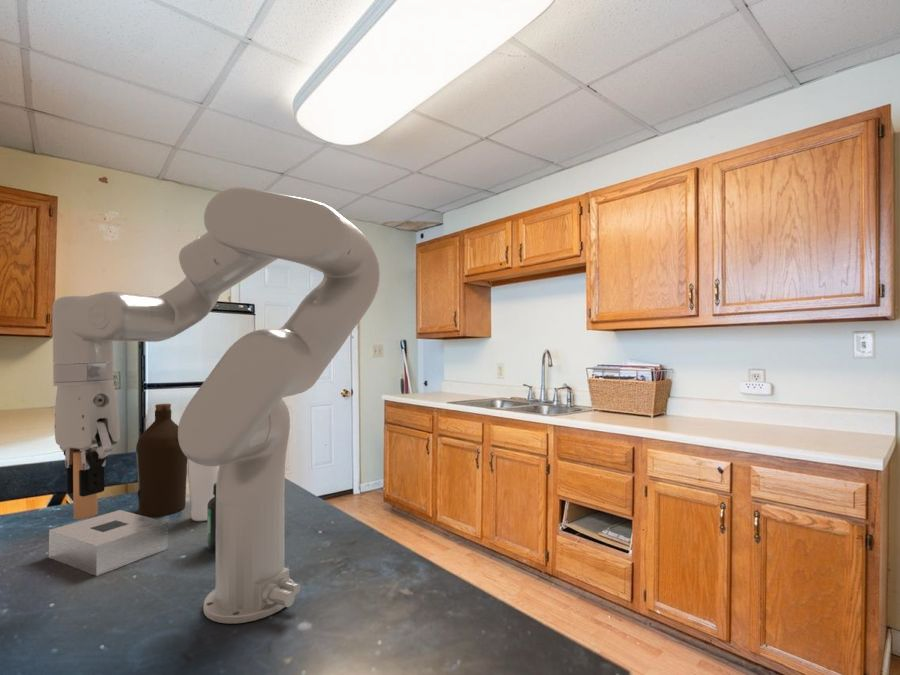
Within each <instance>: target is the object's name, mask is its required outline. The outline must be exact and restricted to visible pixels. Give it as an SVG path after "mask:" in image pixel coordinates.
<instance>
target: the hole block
mask: <svg viewBox="0 0 900 675" xmlns="http://www.w3.org/2000/svg"><path fill="white" fill-rule="evenodd" d="M168 524H169V523H168V522H167V521H164V520H161V519H157V518H152V517H145V516H142V515H140V514H139V513H138V514H136V513H134V512H131V511H130V512H129V511H127V510H126V511H125V510H122V509H119V510H115V511H112V512H108V513H103V514H101V515H98V516H97V515H96V516H93V517H90V518H85V519H82V520H80V521H79V520H78V521H76V522H73V523H70V524H66V525H65V524H64V525H63V526H62V525H61V526H58V527H55V528H51V529H49V530H48V558H49V559H51V560H53V559H54V561H57V562H59V563H61V564H65V565H66V564H67V565H66V566H69V567H71V568H73V569H77V570H79V569H80V570H79V571H82V572H85V573H88V574H90V575H93V576H95V577H98V576H100V575H103V574H105V573H108V572H110V571H113V570H116V569H119V568H121V567H124V566H126V565H129V564H132V563H134V562H136V561H137V562H138V561H139V560H143V559H145V558H147V557H150V556H153V555H156V554H158V553H160V552H163V551H166V550H167V549H168V548H169V547H168V540H169V539H168V537H169V536H168V533H169V531H168V529H169V527H168V526H169V525H168Z"/></svg>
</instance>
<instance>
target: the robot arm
mask: <svg viewBox="0 0 900 675" xmlns="http://www.w3.org/2000/svg"><path fill="white" fill-rule="evenodd" d="M203 223H204V227H205V230H206V231H207V232H206V233H204V234H202V235H200V236H199V237H197V238H196V239H194V240H192V241H191V242H190V243H189V242H188V243H187V244H186V245H184V246H183V247H182V248H181V249H180V251H179V254H178V260H179V266H180V269H181V270H182V272H183V274H184V276H185V277H184V278H183V280H182V281H181V282H179V283H178V284H177V285H175V286H174V287H172V288H171V289H169V290H168V291H165V292H164V293H162V294H160V295H158V296H156V297H155V296H150V295H144V294H138V293H136V294H135V293H128V292H122V291H104V292H99V293H95V294H90V295H69V296H62V297H58V298H56V299H55V300H54V302H53V304H52V364H53V365H52V370H53V371H52V374H53V375H52V380H53V382H52V384H53V387H57V388H56V396H55V407H54V440H55V443H56V444H57V445H58V446H59V448H60V451H61V452H63V455H64V465H65V467H66V468H65V469H66V473H65V474H66V478H65V479H66V493H67V494H69V495H72V494H73V453H74V452H77V451H81V459H82V469H83V470H79V495H80V496H83V497H84V496H88V495H92V494H96V493H98V494H101V493H103V492H104V491H105V488H106V487H105V466H106V465H107V461H106V460H107V457H108V456H109V455H111V453H113V446H114V445H117V444H118V443H119V442H120V436H121V434H120V416H119V405H118V399H117V394H116V393H117V392H116V388H115V385H114V382H115V381H114V342H148V343H150V342H152V343H155V342H156V343H157V342H163V341H166V340H169V339H171V338H174V337H176V336H178V335H180V334H181V333H183V332H184V331H187V330H188V329H189V328H190V329H191V327H193V326H194V325H196V324H198V323H199V322H201V321H202V320H204V318H206V317H207V315H209V314H210V312H211V311H212V310H213V309H214V307H215V306H216V304H217V303H218V301H219V298H220V295H222V294H223V293H224V292H226V291H228V290H229V289H230V288H232V287H234V286H236V285H237V284H239V283H240V282H242V281H243V280H245V279H247V278H249V277H250V276H252V275H254V274H255V273H257V272H259V271H260V270H263V268H265V267H267V266H268V265H270V264H272V263H273V262H275V261H277V260H283V261H288V262H292V263H296V264H300V265H303V266H306V267H308V268H311V269H313V270H316V271H318V272H320V273H322V274H323V278H322V280H321V282H319V284H318V285H317V286H316V287H315V288H313V289H312V290H311V291H310V292H309V293H308V294H307V295H306V296H305V297H304V298H303V299H302V301H301V302H300V303H299V305H298V306H297V308H296V309H295V311H294V312H293V313H292V315H291V316H290V317H289V318H288V320H286V322H285V323H284V324H283V325H282V326H281V327H280V328H277V329H276V328H275V329H274V328H266V329H265V328H264V329H263V328H262V329H257V330H253V331H251V332H249V333H246V334H244V335H243V336H241V337H240V338H238V339H237V340H236V341H235V342H233V344H232V345H230V346H229V348H227V350H226V351H225V353H224V354H223V356H221V357H220V359H219V361H218V362H217V364H216V365H215V366H214V367H213V369H212V370H211V372H210V373H209V374H208V375H207V377H206V378H205V379H204V380H203V382H202V384H201V385H200V387H199V388H198V389H197V391H196V392H195V394H194V395H193V396H192V398H191V399H190V401H189V402H188V404H187V405H186V407H185V409H184V411H183V412H182V415H181V416H180V420H179V423H178V441H179V445H180V448H181V450H182V451H183V453H184V454H185V456H186V457H187V458H188V459H190V460H191V461H193V462H194V463H197V464H199V465H203V466H219V470H218V475H217V483H216V552H215V588H214V589H212V590H211V592H209V593H208V594H207V596H205V599H204V601H203V614H204V615H205V616H206V617H205V618H207V619H209V620H211V621H213V622H217V623H219V624H227V625H229V624H231V625H232V624H244V623H245V624H246V623H249V622H253V621H258V620H261V619H264V618H267V617H270V616H272V615H273V614H276V613H277V612H280V611H282V609H284V608H289V607H291V606H293V604H294V602H295V600H296V595H298V594H299V593H300V591H301V588H302V587H301V584H299V583H297V582H295V581H294V580H293V579H292V578H290V568H288V567H285V566H286V565H285V559H286V558H285V556H286V555H285V554H286V552H285V544H286V543H285V542H286V540H285V539H286V538H285V536H286V535H285V534H286V533H285V532H286V530H285V522H286V521H285V518H286V517H285V513H286V512H285V492H286V491H285V490H286V488H285V487H286V460H287V459H286V458H287V451H288V450H287V449H288V444H289V438H290V429H291V417H290V412H289V408H288V406H287V404H286V401H285V400H283V398H286V397H292V396H295V395H298V394H303V393H305V392H306V391H308V390H309V389H311V388H312V387H313V386H315V384H316V383H317V381H318V380H319V379H320V377H321V376H322V375H323V373H324V372H325V370H326V369H327V368H328V366H329V364H330V363H331V362H332V360H333V359H334V358H335V357H336V355H337V354H338V352H339V351H340V350H341V348H342V346H343V345H344V344H345V342H346V341H347V340H348V338H349V336H350V335H351V333H352V332H353V331H354V329H355V328H356V327H357V325H358V324H360V322H361V320H362V318H363V317H364V316H365V314H366V313H367V312H368V311H369V308H370V307H371V306H372V304H373V302H374V300H375V298H376V296H377V292H378V288H379V285H380V277H381V276H380V274H381V273H380V265H379V261H378V258H377V255H376V253H375V250H374V248H373V246H372V245H371V243H370V241H369V240H368V238H367V237H366V235H365V234H364V232H362V231H361V230H360V229H359V228H358V227H357V226H355V224H353V223H352V222H351V221H349V220H348V219H347V218H345V217H344V216H343V215H342V214H341V213H339V211H337V210H335V209H334V208H333V207H331V206H329V205H327V204H325V203H322V202H320V201H317V200H312V199H309V198H308V199H307V198H303V197H297V196H292V195H287V194H281V193H276V192H271V191H265V190H261V189H255V188H250V187H243V186H242V187H240V186H239V187H236V186H235V187H231V188H227V189H224V190H221V191H220V192H218V193H216V194H215V195H214V196H213V197H212V198H211V199H210V200H209V202H208V203H207V205H206V207H205V210H204V214H203ZM95 444H96V445H97V446H94V447H93V445H95ZM94 451H96V452H94ZM89 452H93V453H92V454H91V456H90V458H89Z"/></svg>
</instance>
